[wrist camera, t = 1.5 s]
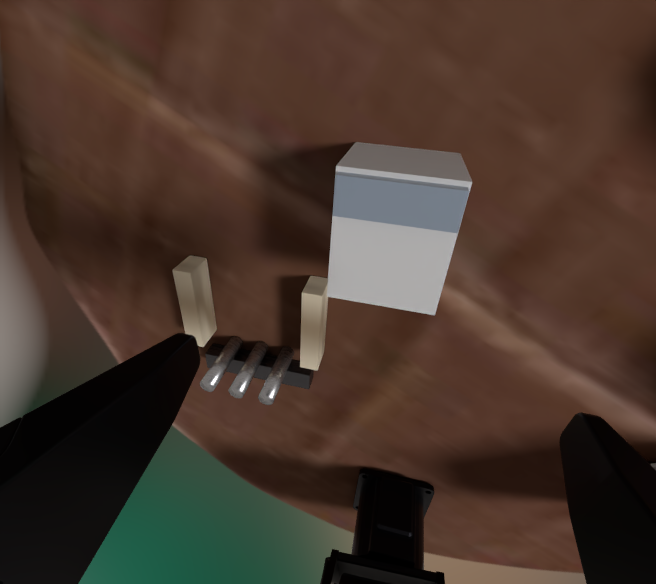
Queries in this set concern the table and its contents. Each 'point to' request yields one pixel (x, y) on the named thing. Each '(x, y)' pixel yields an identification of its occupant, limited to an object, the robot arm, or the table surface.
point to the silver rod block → (254, 369)
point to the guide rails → (201, 315)
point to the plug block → (395, 225)
